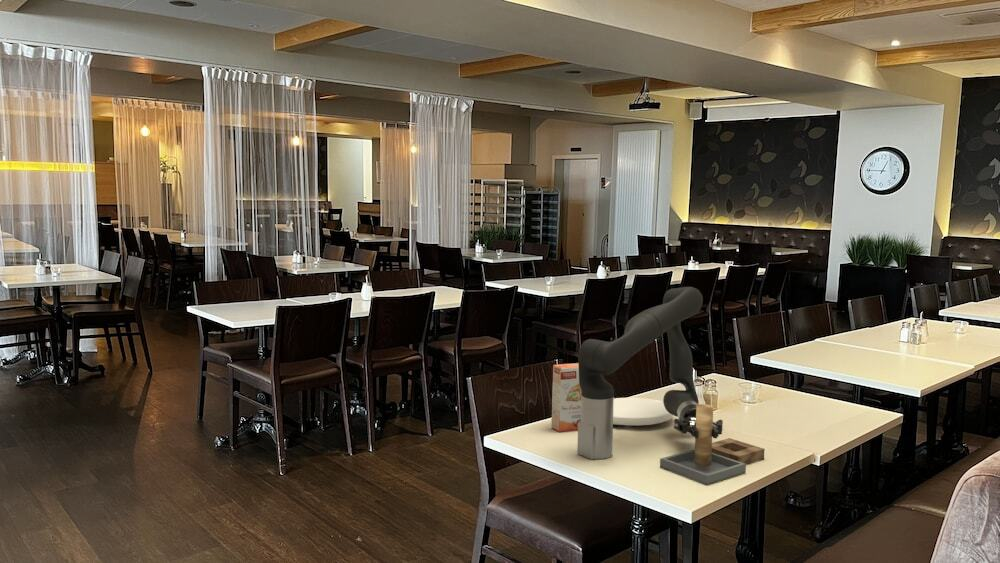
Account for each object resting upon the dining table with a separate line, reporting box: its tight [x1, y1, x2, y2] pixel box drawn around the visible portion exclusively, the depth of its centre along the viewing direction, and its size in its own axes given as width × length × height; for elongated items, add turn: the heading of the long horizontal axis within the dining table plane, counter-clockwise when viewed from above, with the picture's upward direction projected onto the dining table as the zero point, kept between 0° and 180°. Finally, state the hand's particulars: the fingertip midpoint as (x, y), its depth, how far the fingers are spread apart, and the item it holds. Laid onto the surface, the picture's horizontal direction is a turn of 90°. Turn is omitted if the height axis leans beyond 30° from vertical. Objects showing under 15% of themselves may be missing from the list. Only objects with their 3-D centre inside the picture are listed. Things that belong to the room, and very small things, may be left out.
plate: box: [613, 397, 674, 426], centre depth 251 cm, size 28×6×27 cm
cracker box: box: [551, 362, 581, 433], centre depth 239 cm, size 14×6×21 cm, turn 113°
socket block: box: [712, 437, 765, 466], centre depth 213 cm, size 12×12×3 cm
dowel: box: [694, 403, 714, 467], centre depth 201 cm, size 4×4×16 cm
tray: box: [659, 448, 747, 486], centre depth 202 cm, size 16×16×2 cm
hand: (706, 434), depth 199 cm, fingers closed on dowel, 4 cm apart
